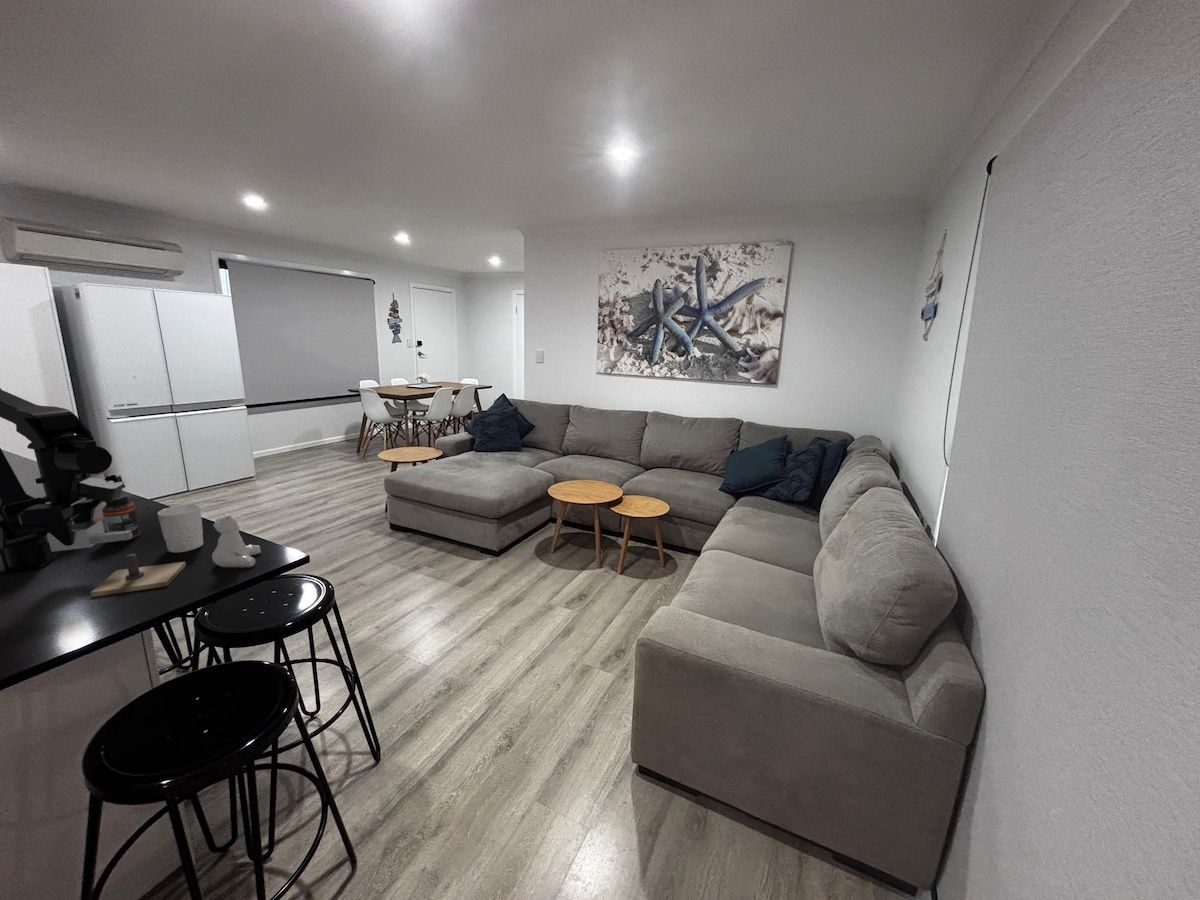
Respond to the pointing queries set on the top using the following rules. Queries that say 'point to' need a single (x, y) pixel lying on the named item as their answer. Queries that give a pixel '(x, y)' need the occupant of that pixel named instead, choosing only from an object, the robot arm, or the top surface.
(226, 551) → the sitting furry creature
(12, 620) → the top surface
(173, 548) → the white cup
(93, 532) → the white handled block
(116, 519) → the supplement bottle
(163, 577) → the board
